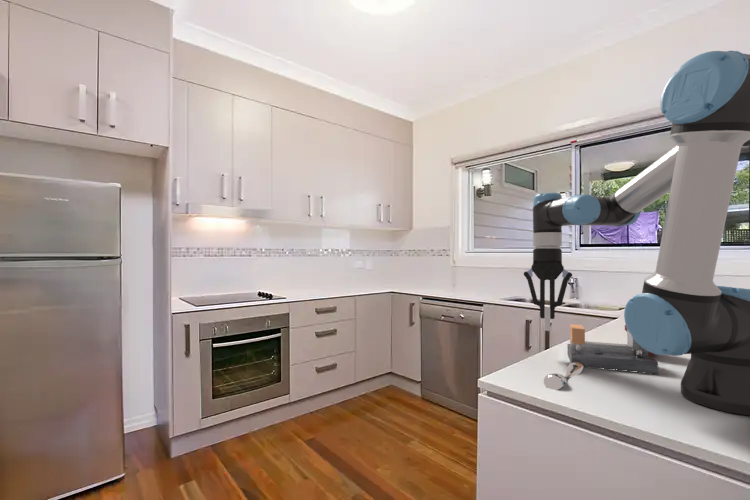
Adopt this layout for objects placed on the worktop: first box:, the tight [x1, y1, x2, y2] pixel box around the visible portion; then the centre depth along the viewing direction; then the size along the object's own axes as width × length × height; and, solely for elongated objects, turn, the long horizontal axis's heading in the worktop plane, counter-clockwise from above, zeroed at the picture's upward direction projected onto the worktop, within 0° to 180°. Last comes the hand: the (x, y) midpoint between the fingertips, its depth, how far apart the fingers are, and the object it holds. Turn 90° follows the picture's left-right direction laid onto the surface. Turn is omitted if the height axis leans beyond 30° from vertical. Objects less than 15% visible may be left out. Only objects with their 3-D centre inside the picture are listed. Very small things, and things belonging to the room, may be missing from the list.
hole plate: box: [567, 343, 659, 375], centre depth 105 cm, size 13×19×3 cm
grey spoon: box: [543, 362, 584, 391], centre depth 92 cm, size 20×4×5 cm
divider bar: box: [571, 329, 648, 357], centre depth 105 cm, size 6×18×6 cm, turn 68°
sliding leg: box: [569, 324, 586, 351], centre depth 108 cm, size 7×3×6 cm, turn 158°
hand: (547, 329), depth 111 cm, fingers closed
